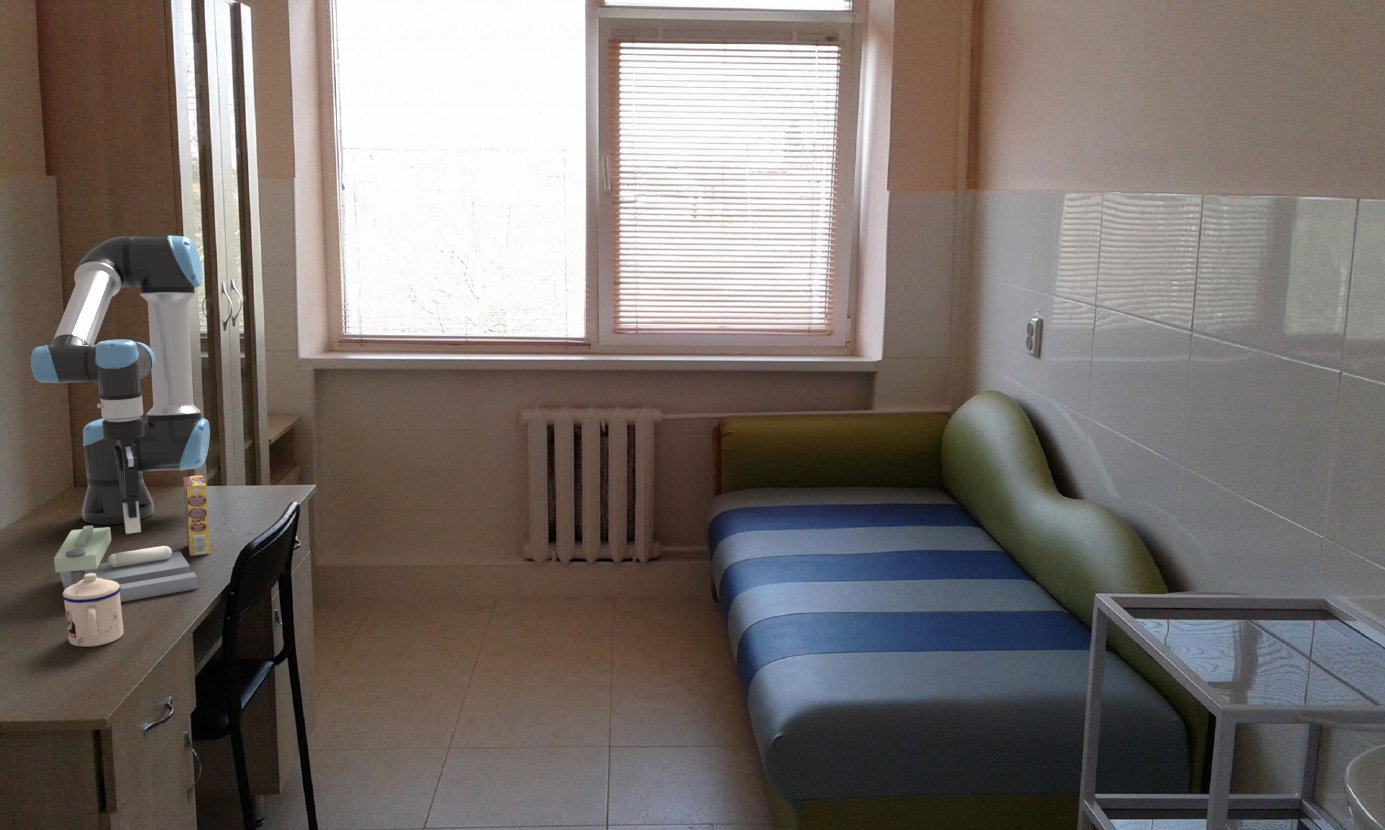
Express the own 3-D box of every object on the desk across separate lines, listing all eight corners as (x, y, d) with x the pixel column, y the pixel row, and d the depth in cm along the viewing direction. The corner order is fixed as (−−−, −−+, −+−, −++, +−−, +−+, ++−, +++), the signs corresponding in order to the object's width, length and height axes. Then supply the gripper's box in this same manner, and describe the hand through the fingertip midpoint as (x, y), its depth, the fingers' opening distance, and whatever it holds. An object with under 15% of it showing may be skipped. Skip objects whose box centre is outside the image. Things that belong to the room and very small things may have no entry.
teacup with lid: (68, 632, 212) (61, 569, 209) (125, 624, 215) (119, 562, 213) (64, 658, 201) (57, 592, 199) (124, 649, 205) (118, 584, 202)
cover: (96, 569, 225) (94, 549, 224) (54, 573, 223) (52, 553, 222) (111, 540, 243) (109, 521, 242) (72, 543, 241) (70, 524, 240)
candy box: (212, 554, 254) (206, 484, 251) (190, 557, 252) (184, 486, 249) (208, 542, 262) (203, 474, 258) (187, 544, 260) (181, 476, 257)
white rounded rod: (107, 566, 238) (105, 552, 238) (171, 556, 245) (169, 543, 244) (109, 570, 236) (107, 556, 235) (173, 560, 242) (172, 546, 242)
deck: (61, 581, 237) (58, 553, 236) (180, 562, 248) (178, 535, 247) (71, 610, 222) (68, 580, 221) (197, 588, 233) (195, 559, 232)
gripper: (97, 414, 243) (108, 526, 247) (106, 425, 232) (117, 542, 236) (138, 410, 247) (148, 521, 251) (148, 421, 236) (158, 536, 240)
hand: (133, 531), depth 244 cm, fingers closed
